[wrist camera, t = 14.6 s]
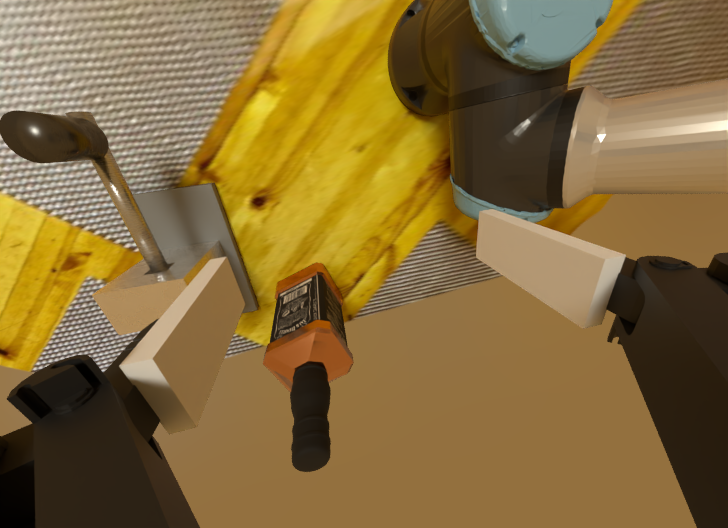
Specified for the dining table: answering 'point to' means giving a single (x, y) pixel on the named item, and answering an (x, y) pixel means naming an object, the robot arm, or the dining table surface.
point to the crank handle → (77, 143)
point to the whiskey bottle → (308, 357)
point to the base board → (194, 226)
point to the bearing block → (152, 287)
